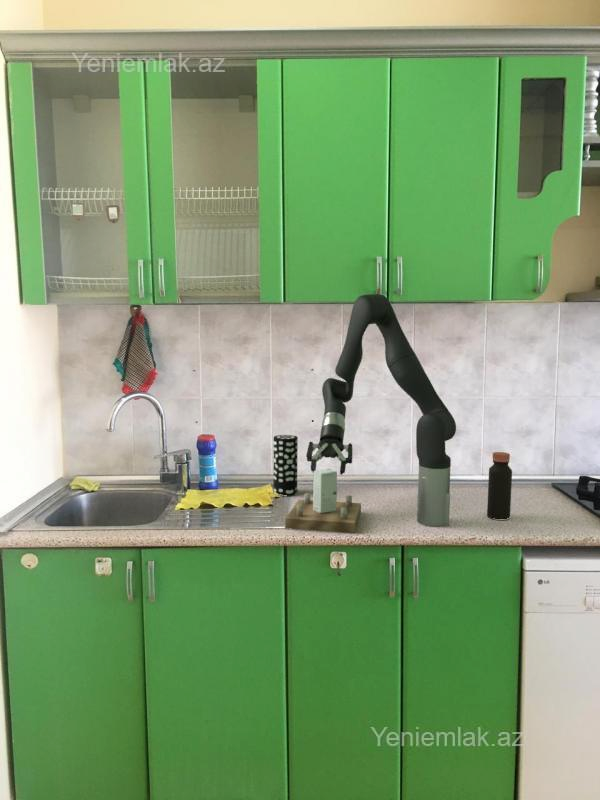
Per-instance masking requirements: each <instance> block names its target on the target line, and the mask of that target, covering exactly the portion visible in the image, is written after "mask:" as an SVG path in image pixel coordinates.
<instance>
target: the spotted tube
mask: <svg viewBox="0 0 600 800" xmlns="http://www.w3.org/2000/svg"><path fill="white" fill-rule="evenodd" d="M298 439H299V438H298V436H297V435H293V434H278V435H274V436H273V474H272V475H273V479H272V480H273V486H272V487H273V489H272V490H274V492H276V493H278V494H280V495H287V497H292V496H293V497H294V496H296V495H297V494H298V447H299V446H298Z"/></svg>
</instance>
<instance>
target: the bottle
mask: <svg viewBox="0 0 600 800" xmlns="http://www.w3.org/2000/svg"><path fill="white" fill-rule="evenodd" d="M510 455H511V454H510V453H509V452H504V451H495V452H493V453H492V463H493V464H492V465H491V466H490V467H489V469H488V488H487V507H486V510H487V511H486V517H488V518H489V517H491V518H495V519H507V518H509V517H510V518H511V506H512V505H511V503H512V484H513V483H512V482H513V481H512V479H513V469H512V468H511V467H510V466H509V463H510V459H511V458H510V457H511V456H510ZM491 518H490V519H491ZM510 518H509V519H510ZM495 519H494V520H495Z"/></svg>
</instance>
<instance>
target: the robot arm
mask: <svg viewBox="0 0 600 800" xmlns="http://www.w3.org/2000/svg"><path fill="white" fill-rule="evenodd" d="M380 294H381V293H371V294H363V295H359V296H358V297H357V298H356V299H355V301H354V303H353V305H352V308H351V312H350V316H349V317H350V318H349V322H348V327H347V331H346V332H347V333H346V337H345V341H344V345H343V348H342V351H341V353H340V356H339V358H338V360H337V362H336V363H337V364H336V366H335V370H334V372H335V374H336V376H337V377H339V378H340V379H337V378H333V377H329V378H327V379H325V380H324V382H323V384H322V387H321V389H322V390H321V392H322V393H321V394H322V399H323V403H324V412H323V419H322V422H321V427H320V428H321V429H320V435H319V441H318V443H314V442H313V441H309V443H308V445H307V452H306V454H305V457H306V461H307V462H310V471H311V472H312V474H314V471H317V470H316V469H317V462H318V461H320V460H322V459H323V458H327V459H328V458H333V459H335V458H337V459H338V461H340V466H339V474H340V475H341V476H342V475H343V474H345V472H346V465H347V464H352V463H353V449H354V448H353V443H348V444H344V440H345V439H344V438H345V431H346V413H347V406H346V404H345V403H348V402H350V401H351V399H352V398H353V396H354V388H355V387H354V384H355V379H356V375H357V372H358V369H359V367H360V365H361V363H362V359H363V352H364V350H363V337H364V335H365V332H366V330H367V329H368V327H369V326H370V325H376V327H378V329H379V331H380V333H381V335H382V337H383V340H384V345H385V347H384V348H385V349H384V351H385V352H384V354H385V355H384V357H385V363H386V365H387V368H388V371H389V372H390V374H391V376H392V378H393V379H394V381H395V383H396V384H397V385H398V386H399V388H400V389H401V390H402V391H404V392H405V394H406V395H408V396H409V397H410V398H411V399H412V400H413V401H414V402H415V403H416V404H417V407H418V408H419V410H420V412H421V413H422V416H420V418H418V420H417V424H416V433H415V435H416V436H415V438H416V439H415V440H416V446H415V447H416V449H415V450H416V456H417V458H418V480H417V481H418V482H417V483H418V484H417V485H418V486H417V487H418V488H417V511H416V518H417V520H416V522H418V523H419V524H421V525H423V524H424V525H423V526H427V527H428V526H429V527H444V526H447V525H449V526H450V512H451V511H450V509H451V508H450V507H451V502H450V501H451V493H450V491H451V488H450V487H451V466H452V465H451V462H452V461H451V460H452V459H451V457H450V456H449V455H448V454H447V452H446V442H448V441H450V440H451V439H453V437H455V436H456V432H457V424H456V421H455V418H454V417H453V414H451V411H450V410H449V409H448V407H447V406H446V405H445V403H444V402H443V400H442V399H441V397H440V396H439V395H438V393H437V391H436V389H435V387H434V386H433V383H432V382H431V380H430V378H429V377H428V374H427V373H426V371H425V369H424V367H423V365H422V363H421V362H420V360H419V358H418V356H417V354H416V352H415V351H414V349H413V348H412V345H410V342H409V340H408V339H407V336H406V335H405V334H406V333H404V331H403V329H402V326H401V325H400V322H399V319H398V317H397V314H396V313H395V311H394V307H393V306H392V304H391V302H390V300H389V299H388V297H387V296H386V295H384V294H382V295H380ZM341 379H342V380H341ZM316 449H317V451H316V452H315V454H313V453H314V451H315V450H316ZM343 451H346V453H347V457H345V455H344V454H343Z"/></svg>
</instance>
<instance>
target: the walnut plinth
mask: <svg viewBox="0 0 600 800" xmlns="http://www.w3.org/2000/svg"><path fill="white" fill-rule="evenodd" d="M361 513H362V503H361V502H353V496H352V495H346V496H345V502H344V501H337V504H336V511H331V512H325V513H318V512H316V511H314V510H313V499H312V500H311V493H309V492H305V493H304V499H297V501H296V503H295V504H294V506H293V507H292V508H291V510H290V511H289V513H288V514H287V516H286V517H285V518H284V519H285V521H284V522H285V524H284V526H285V527H284V528H285V529H286V528H292V529H291V530H300V529H302V531H305V530H306V531H316V532H318V531H319V532H331V533H344V534H345V533H348V534H355V533H356V530H357V528H358V524H357V523H359V519H360V517H361Z"/></svg>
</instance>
